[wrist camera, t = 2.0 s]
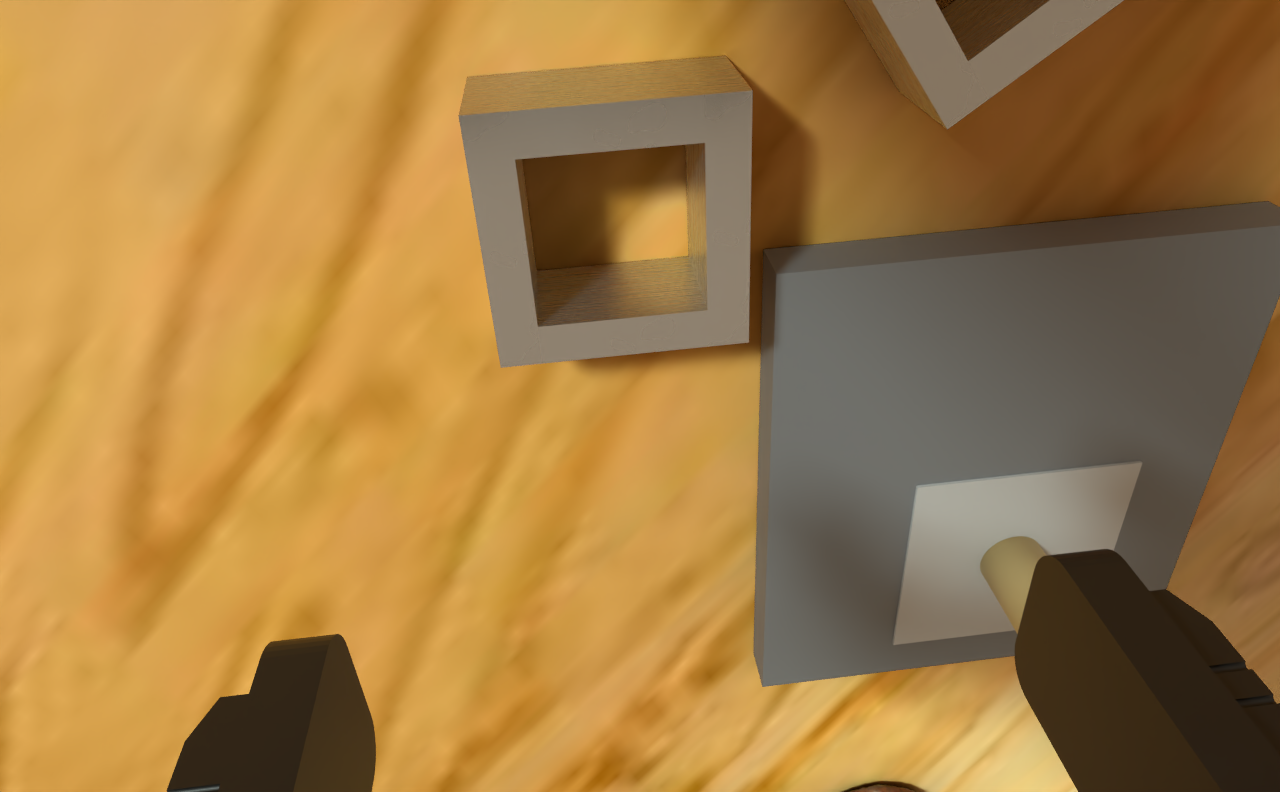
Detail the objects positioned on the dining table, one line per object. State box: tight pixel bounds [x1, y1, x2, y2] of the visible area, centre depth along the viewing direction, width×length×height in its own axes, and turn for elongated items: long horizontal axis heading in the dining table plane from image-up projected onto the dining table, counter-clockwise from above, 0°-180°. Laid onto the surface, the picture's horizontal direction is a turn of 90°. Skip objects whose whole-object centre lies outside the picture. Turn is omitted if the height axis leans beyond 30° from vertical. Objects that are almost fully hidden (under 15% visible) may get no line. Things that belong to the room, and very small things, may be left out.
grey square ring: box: [459, 56, 753, 368], centre depth 21 cm, size 6×6×3 cm
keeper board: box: [754, 201, 1280, 687], centre depth 26 cm, size 16×14×6 cm
